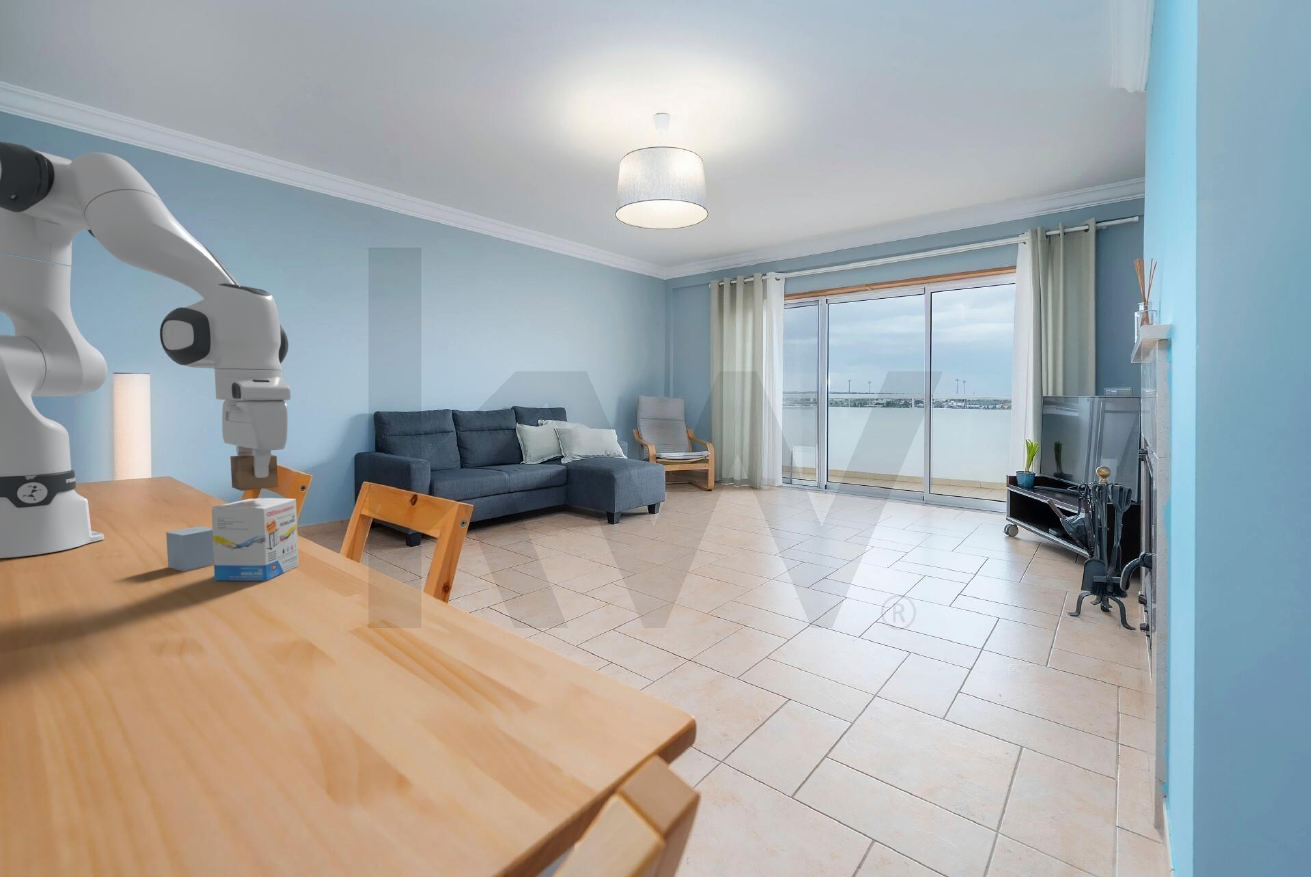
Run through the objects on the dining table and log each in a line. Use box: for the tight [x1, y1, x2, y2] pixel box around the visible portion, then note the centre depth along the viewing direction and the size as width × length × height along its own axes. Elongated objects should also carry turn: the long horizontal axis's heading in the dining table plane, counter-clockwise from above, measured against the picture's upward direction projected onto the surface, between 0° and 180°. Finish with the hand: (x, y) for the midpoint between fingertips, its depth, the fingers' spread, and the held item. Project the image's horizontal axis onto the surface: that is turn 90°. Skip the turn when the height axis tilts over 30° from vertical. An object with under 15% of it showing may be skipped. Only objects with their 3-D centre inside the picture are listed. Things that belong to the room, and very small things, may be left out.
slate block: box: [166, 525, 214, 572], centre depth 100 cm, size 5×5×6 cm
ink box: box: [211, 497, 300, 582], centre depth 96 cm, size 9×8×12 cm
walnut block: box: [229, 454, 279, 492], centre depth 95 cm, size 5×5×5 cm
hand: (254, 475), depth 95 cm, fingers closed on walnut block, 5 cm apart
